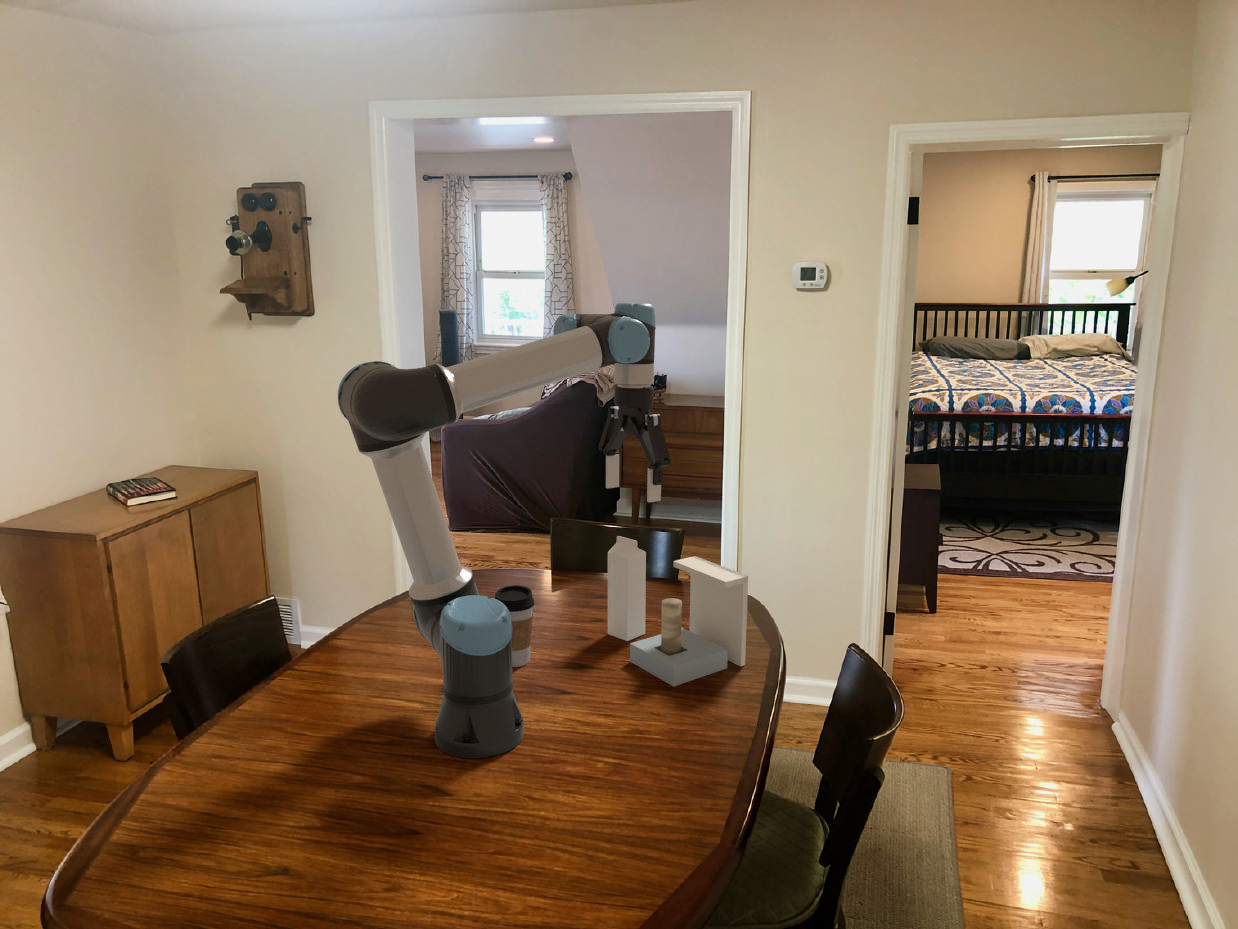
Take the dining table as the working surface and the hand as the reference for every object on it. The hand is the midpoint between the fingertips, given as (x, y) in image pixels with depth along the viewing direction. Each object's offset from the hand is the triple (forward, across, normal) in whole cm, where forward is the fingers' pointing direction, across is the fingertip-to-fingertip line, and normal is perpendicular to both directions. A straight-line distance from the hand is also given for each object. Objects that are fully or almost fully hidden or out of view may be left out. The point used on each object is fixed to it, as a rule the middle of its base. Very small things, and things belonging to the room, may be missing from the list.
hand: (632, 494), depth 173 cm
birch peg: (+36, -6, -6) cm, 37 cm away
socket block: (+36, -5, -8) cm, 37 cm away
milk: (+36, +14, -9) cm, 39 cm away
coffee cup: (+36, +15, +18) cm, 43 cm away
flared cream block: (+36, -5, -16) cm, 39 cm away
